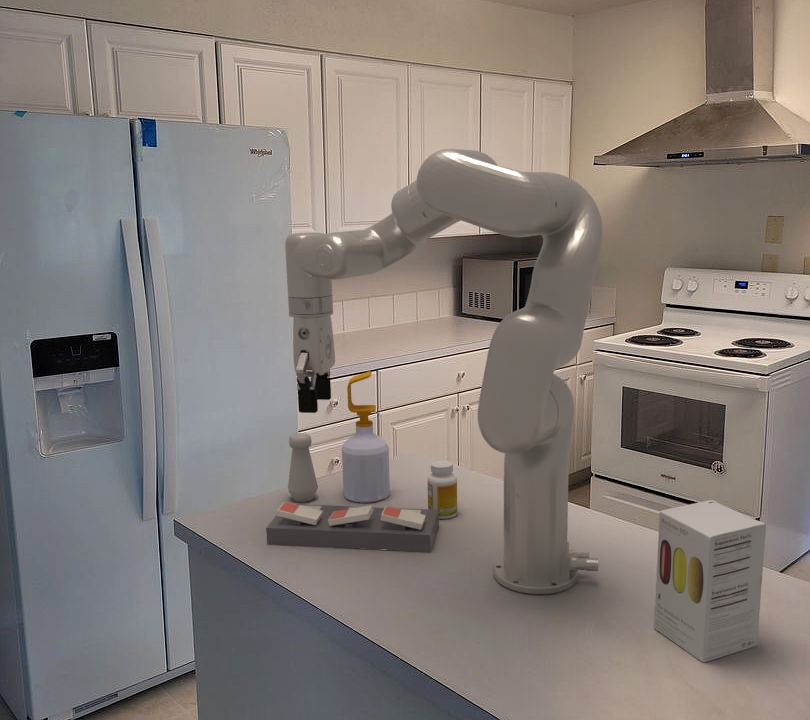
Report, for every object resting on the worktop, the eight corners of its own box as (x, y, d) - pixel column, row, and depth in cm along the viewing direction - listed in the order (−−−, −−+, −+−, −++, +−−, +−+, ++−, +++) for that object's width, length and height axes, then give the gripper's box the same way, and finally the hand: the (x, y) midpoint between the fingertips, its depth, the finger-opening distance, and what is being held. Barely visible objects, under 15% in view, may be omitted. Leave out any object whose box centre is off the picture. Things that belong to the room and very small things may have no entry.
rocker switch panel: (439, 525, 144) (438, 506, 143) (430, 552, 133) (430, 531, 132) (287, 519, 148) (285, 500, 148) (267, 544, 138) (265, 523, 137)
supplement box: (651, 628, 108) (656, 509, 105) (704, 613, 112) (710, 497, 109) (704, 664, 100) (711, 536, 96) (760, 646, 103) (768, 522, 100)
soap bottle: (389, 503, 155) (385, 377, 150) (341, 504, 155) (336, 378, 150) (390, 486, 164) (387, 367, 159) (345, 487, 164) (340, 368, 159)
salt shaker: (304, 491, 163) (300, 428, 160) (324, 497, 159) (321, 433, 156) (282, 499, 158) (278, 435, 156) (302, 506, 155) (299, 440, 152)
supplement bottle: (462, 511, 150) (462, 461, 148) (448, 521, 145) (447, 470, 144) (437, 506, 153) (436, 457, 151) (422, 516, 148) (421, 465, 146)
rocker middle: (373, 510, 139) (372, 504, 139) (368, 519, 135) (367, 513, 135) (335, 516, 141) (333, 510, 140) (329, 525, 137) (327, 519, 136)
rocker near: (424, 520, 138) (425, 514, 138) (421, 529, 134) (422, 523, 134) (384, 510, 139) (385, 504, 139) (380, 519, 135) (381, 513, 135)
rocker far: (322, 516, 141) (323, 510, 141) (315, 525, 137) (316, 519, 137) (283, 506, 142) (284, 500, 142) (276, 515, 138) (277, 509, 138)
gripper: (318, 313, 129) (323, 419, 132) (344, 299, 146) (348, 394, 149) (273, 313, 130) (279, 418, 134) (303, 299, 147) (308, 393, 150)
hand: (315, 405), depth 141 cm, fingers open, 8 cm apart
